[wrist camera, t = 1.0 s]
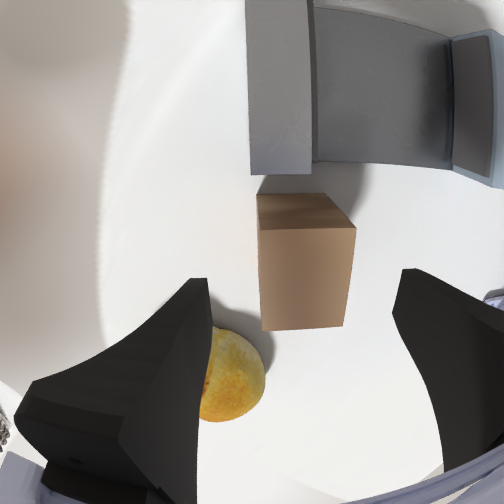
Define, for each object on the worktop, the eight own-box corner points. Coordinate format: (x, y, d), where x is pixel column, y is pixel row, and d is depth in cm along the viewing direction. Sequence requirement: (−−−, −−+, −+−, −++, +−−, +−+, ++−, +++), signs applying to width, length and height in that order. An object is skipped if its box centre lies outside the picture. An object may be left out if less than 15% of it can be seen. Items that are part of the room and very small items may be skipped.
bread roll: (233, 407, 23) (232, 447, 19) (131, 367, 21) (116, 407, 17) (290, 347, 20) (297, 392, 16) (165, 292, 18) (148, 335, 14)
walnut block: (324, 193, 15) (356, 227, 10) (319, 270, 17) (342, 326, 12) (256, 194, 15) (259, 230, 10) (258, 273, 17) (261, 331, 12)
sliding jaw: (478, 48, 10) (517, 44, 7) (477, 174, 14) (516, 191, 10) (448, 36, 10) (487, 27, 7) (448, 170, 14) (487, 187, 10)
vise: (478, 51, 11) (520, 47, 7) (477, 173, 14) (518, 190, 11) (245, 7, 11) (244, -25, 7) (250, 160, 14) (250, 175, 11)
